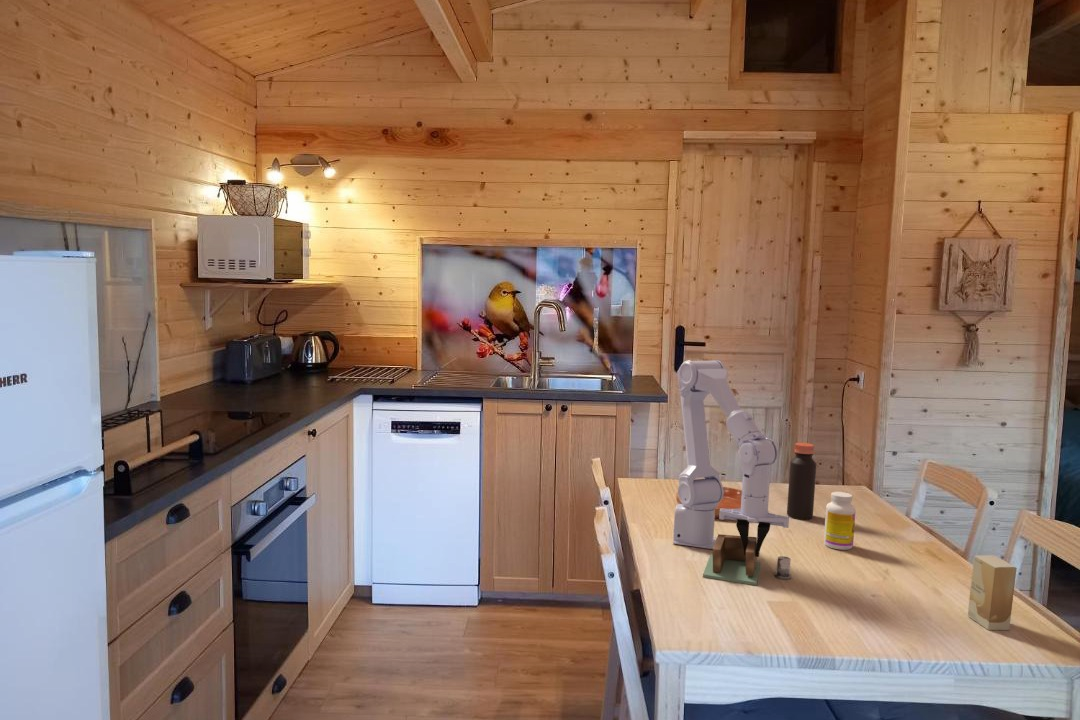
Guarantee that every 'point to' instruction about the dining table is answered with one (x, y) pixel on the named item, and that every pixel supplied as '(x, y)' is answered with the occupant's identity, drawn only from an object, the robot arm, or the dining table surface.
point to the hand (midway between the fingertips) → (751, 554)
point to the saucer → (726, 500)
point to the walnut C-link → (734, 552)
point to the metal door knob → (783, 568)
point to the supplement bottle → (839, 522)
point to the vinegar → (802, 482)
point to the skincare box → (991, 592)
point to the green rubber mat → (732, 571)
